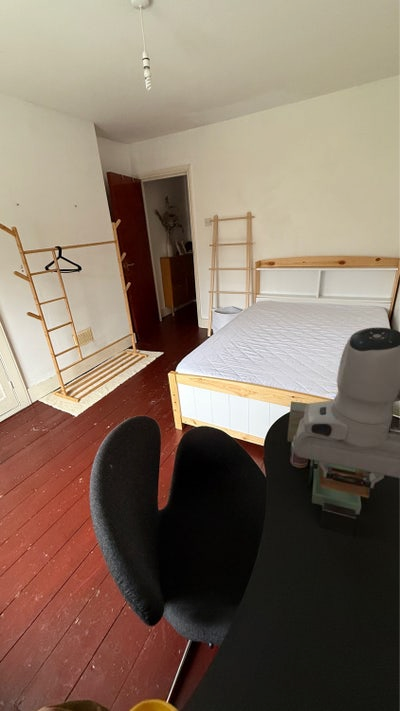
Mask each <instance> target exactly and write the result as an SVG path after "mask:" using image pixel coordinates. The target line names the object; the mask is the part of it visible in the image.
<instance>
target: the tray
mask: <svg viewBox="0 0 400 711" xmlns="http://www.w3.org/2000/svg"><path fill="white" fill-rule="evenodd" d="M313 463H315V464H318V469H315V468H313V472H312V476H313V477H312V495H311V503H312V504H317V505H318V506H322V504H323V502H325V503H329V504H333V505H337V506H341V507H345V508H349V509H353V510H355V512H356V515H358V516H359V515H360V513H361V510H362V501H361V500H362V499H361V497H360V496H358V495H354V494H350V493H345V492H341V491H337V490H332V489H328V488H324V487H321V484H320V476H319V461H315V460H313ZM327 465H328V466H332V467H334V468H339V469H344V470H349V471H353V472H355V470H356V469H353V468H349V467H344V466H339V465H334V464H329V463H327Z"/></svg>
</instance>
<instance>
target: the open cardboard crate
mask: <svg viewBox="0 0 400 711" xmlns="http://www.w3.org/2000/svg"><path fill="white" fill-rule="evenodd" d="M370 473H372V472H368V471H363V470H358V469H356V470H355V472H353V471H349V470H344V469H339V468H334V467H332V476H331V479H329V478H324V477H323V470H322V468H321V467H320V465H319V476H320V484H321V487H324V488H328V489H332V490H337V491H341V492H345V493H350V494H354V495H358V496H362V497H364V498H367V499H369V498H370V491H371V488H368V487H364V484H365V481H364V480H363V479H364V474H370Z"/></svg>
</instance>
